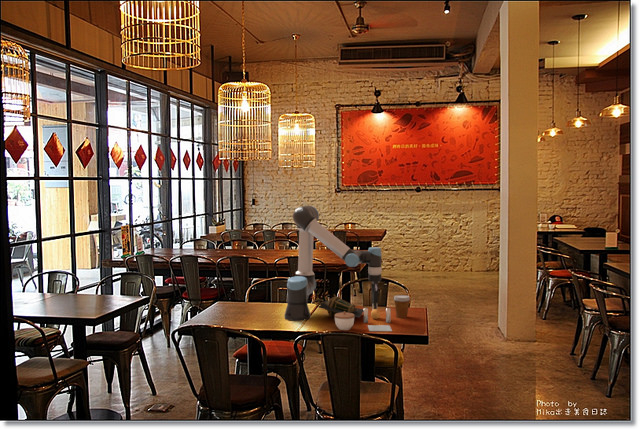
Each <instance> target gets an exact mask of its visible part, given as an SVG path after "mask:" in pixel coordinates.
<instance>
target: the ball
mask: <svg viewBox="0 0 640 430" xmlns="http://www.w3.org/2000/svg"><path fill="white" fill-rule="evenodd" d="M370 316H371V318H372V319H373V320H378V319H379V318H380V317H381V311H380V310H379V309H378V308H377V309H374V310H371V311H370Z"/></svg>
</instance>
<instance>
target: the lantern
mask: <svg viewBox="0 0 640 430" xmlns="http://www.w3.org/2000/svg"><path fill="white" fill-rule="evenodd" d="M316 301H321V302H318V303H316ZM313 304H314V305H315V306H318V305H319V306H318V309H319V308H320V309H323V310H325V311H327V314H328V315H327V318H328V317H331V318H335V314H336V313H342V312H344V311H345V312H346V313H352V314H354V318H361V316H362V315H363V314H364V308H363V309H362V308H359V307H357V306H358V305H356V304H353V303H350V302H348V301H346V300H344V299H343V298H340V296H337V295H336V294H333V296H332V297H331V298H328V300H326V299H325V300H324V299H321V298H320V299H318V298H317V299H315V300H314V301H313Z"/></svg>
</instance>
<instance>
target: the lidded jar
mask: <svg viewBox="0 0 640 430" xmlns="http://www.w3.org/2000/svg"><path fill="white" fill-rule="evenodd" d="M334 322H335V326H336V327H337V328H338V330H339V331H349V330H351V329H352V327H353V325H354V322H355V317H354V314H352V313H346V312H345V311H344V312H342V313H336V314H335V317H334Z"/></svg>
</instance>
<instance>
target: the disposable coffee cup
mask: <svg viewBox="0 0 640 430" xmlns="http://www.w3.org/2000/svg"><path fill="white" fill-rule="evenodd" d="M410 300H411V297H410V296H409V295H404V294H396V295H394V298H393V301H394V307H395V316H396V318H398V317H399V319H404V318H407V317H408V312H409V304H410Z"/></svg>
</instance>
